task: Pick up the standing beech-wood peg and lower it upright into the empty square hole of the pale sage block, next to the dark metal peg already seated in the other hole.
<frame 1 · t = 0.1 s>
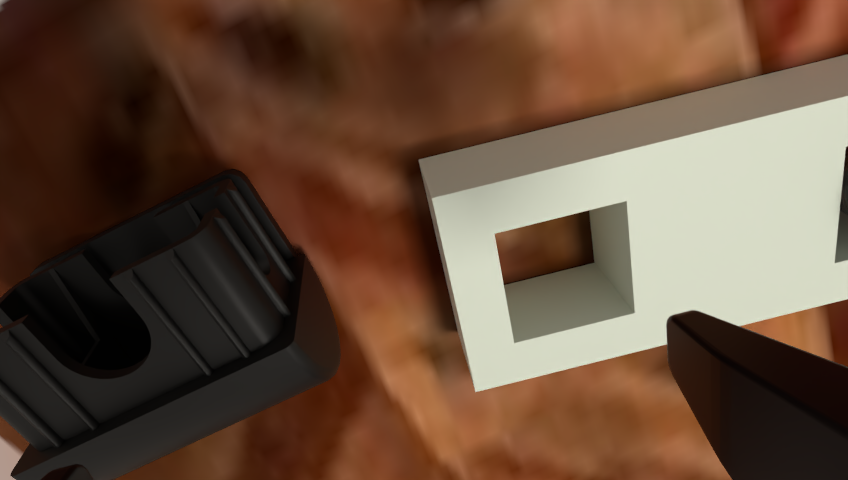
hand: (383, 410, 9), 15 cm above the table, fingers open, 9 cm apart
hole block: (679, 192, 25), on the table
end cap: (190, 286, 24), on the table
dark metal peg: (821, 157, 25), resting in hole block
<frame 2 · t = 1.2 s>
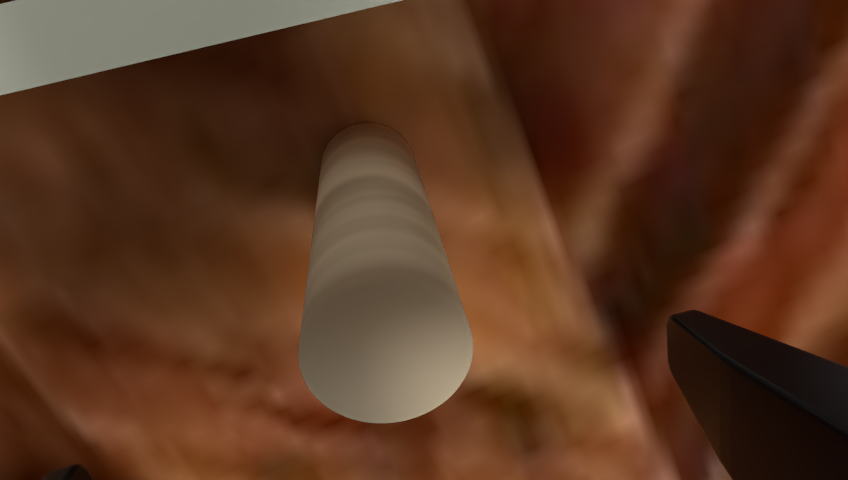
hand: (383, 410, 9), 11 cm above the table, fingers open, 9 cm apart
beech peg: (368, 169, 19), on the table
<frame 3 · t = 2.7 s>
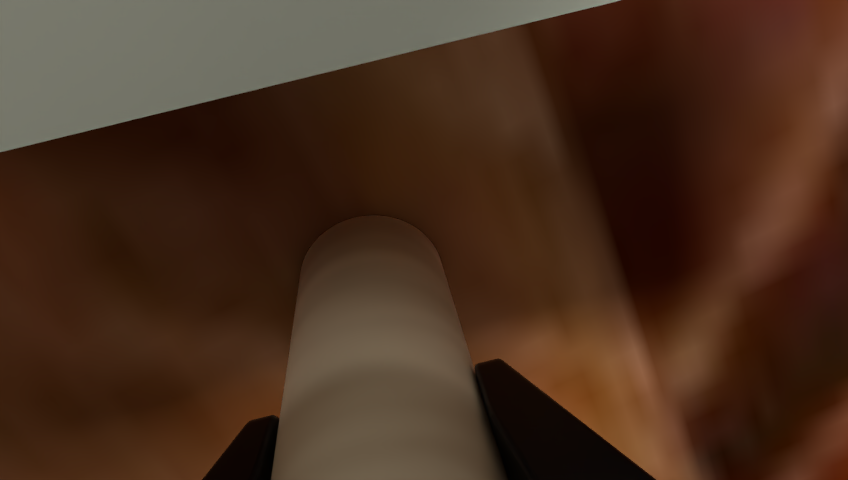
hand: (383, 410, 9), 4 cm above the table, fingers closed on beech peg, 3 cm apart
beech peg: (372, 281, 13), on the table, touching gripper
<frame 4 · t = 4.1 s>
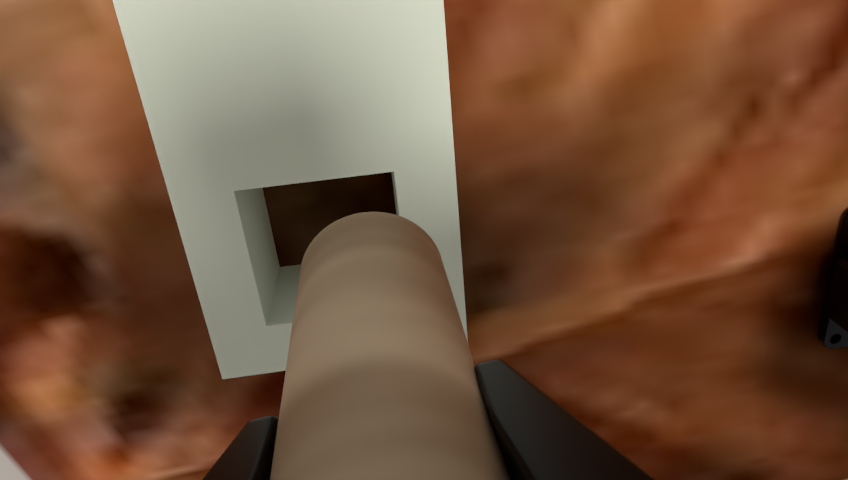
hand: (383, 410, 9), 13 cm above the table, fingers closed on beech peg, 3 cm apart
hole block: (301, 26, 19), on the table
beech peg: (372, 277, 13), point 9 cm above the table, touching gripper
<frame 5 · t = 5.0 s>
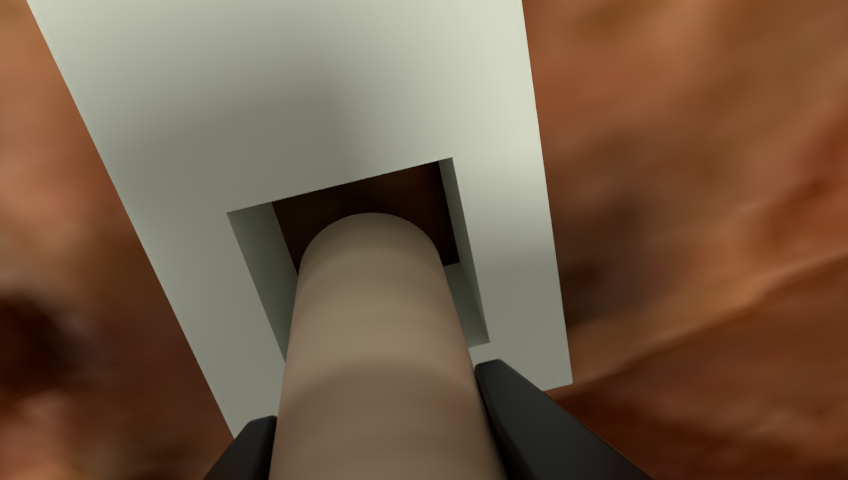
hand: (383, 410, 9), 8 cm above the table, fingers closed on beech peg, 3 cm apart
beech peg: (371, 278, 13), point 4 cm above the table, touching gripper
when the fingers open (5 cm above the table, at t = 5.8 s): beech peg stays where it is, resting in hole block.
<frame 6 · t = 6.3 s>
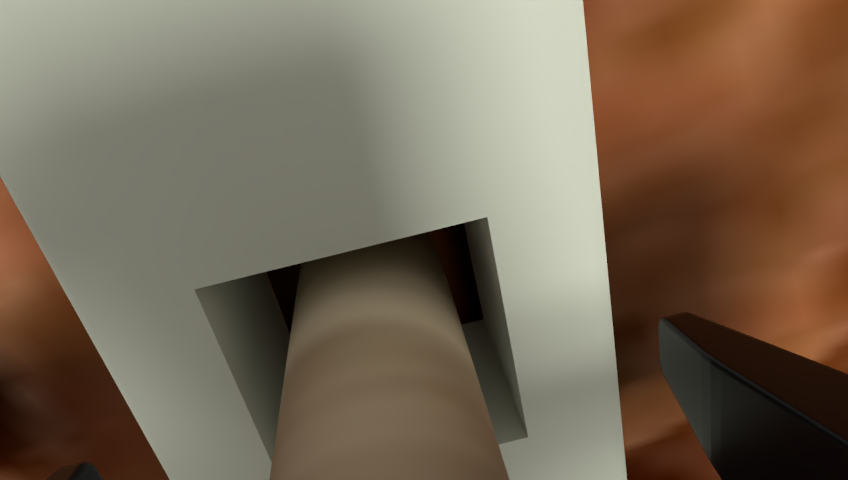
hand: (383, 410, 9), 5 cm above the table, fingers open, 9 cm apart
beech peg: (370, 257, 14), resting in hole block
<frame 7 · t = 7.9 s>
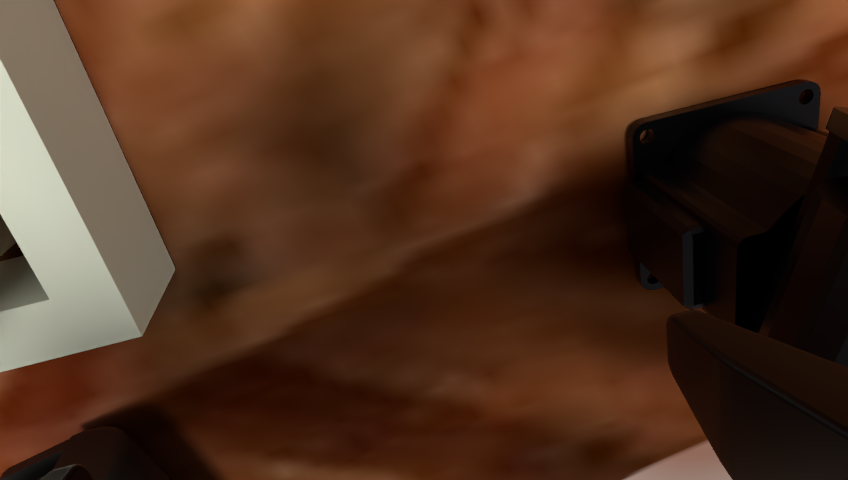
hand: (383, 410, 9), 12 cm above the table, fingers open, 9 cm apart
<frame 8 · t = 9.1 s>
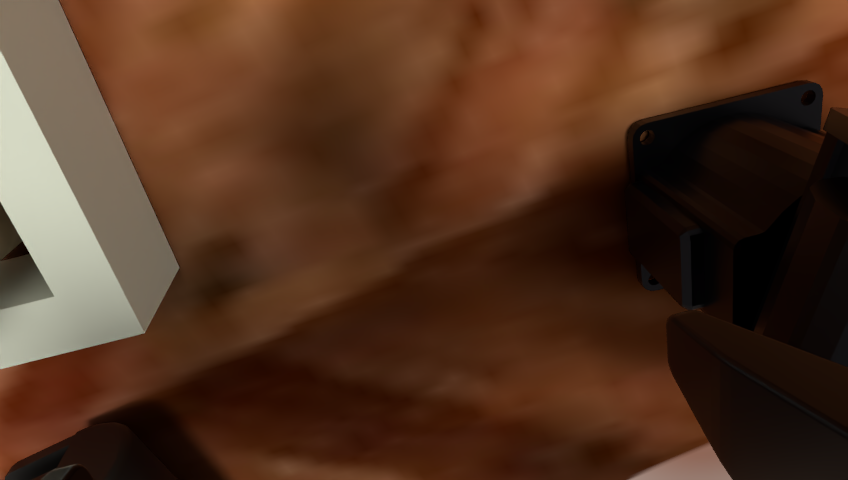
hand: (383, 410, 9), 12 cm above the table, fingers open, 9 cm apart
beech peg: (5, 186, 19), resting in hole block
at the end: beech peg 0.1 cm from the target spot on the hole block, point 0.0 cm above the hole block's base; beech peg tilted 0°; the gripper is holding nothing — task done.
